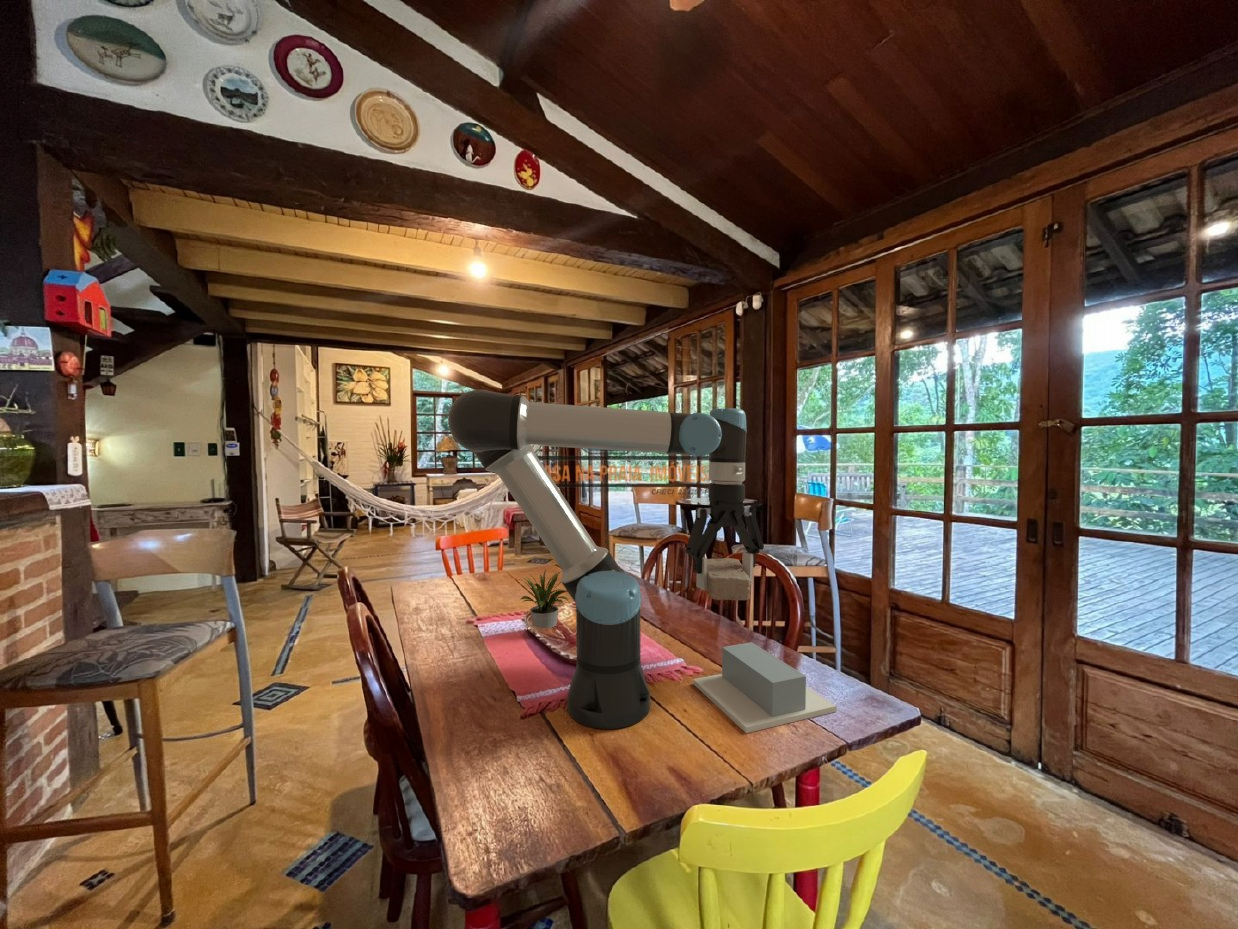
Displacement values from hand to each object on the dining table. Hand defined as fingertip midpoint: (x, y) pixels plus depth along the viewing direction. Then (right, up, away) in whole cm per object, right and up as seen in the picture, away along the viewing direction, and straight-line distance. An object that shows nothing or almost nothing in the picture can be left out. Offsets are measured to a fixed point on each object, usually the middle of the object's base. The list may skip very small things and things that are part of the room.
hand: (724, 585), depth 106 cm
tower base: (+4, -18, -12) cm, 22 cm away
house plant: (-42, -17, +19) cm, 49 cm away
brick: (0, -1, 0) cm, 1 cm away
